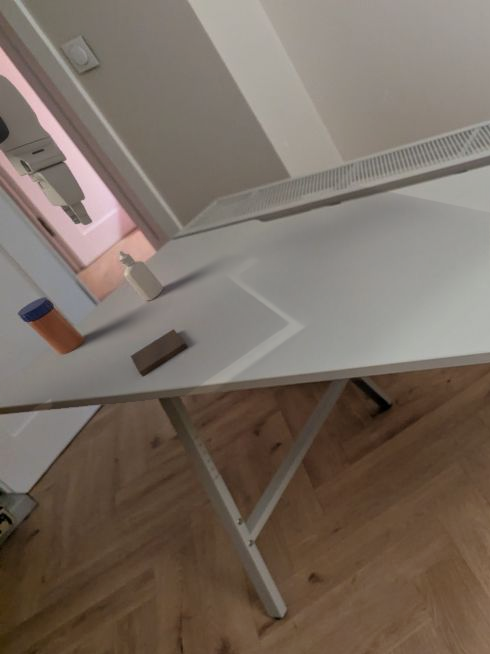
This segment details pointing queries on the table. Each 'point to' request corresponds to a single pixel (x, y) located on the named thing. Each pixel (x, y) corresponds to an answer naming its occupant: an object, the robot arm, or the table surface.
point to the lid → (35, 309)
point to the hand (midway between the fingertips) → (83, 223)
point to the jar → (57, 331)
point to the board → (158, 352)
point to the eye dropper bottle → (140, 277)
